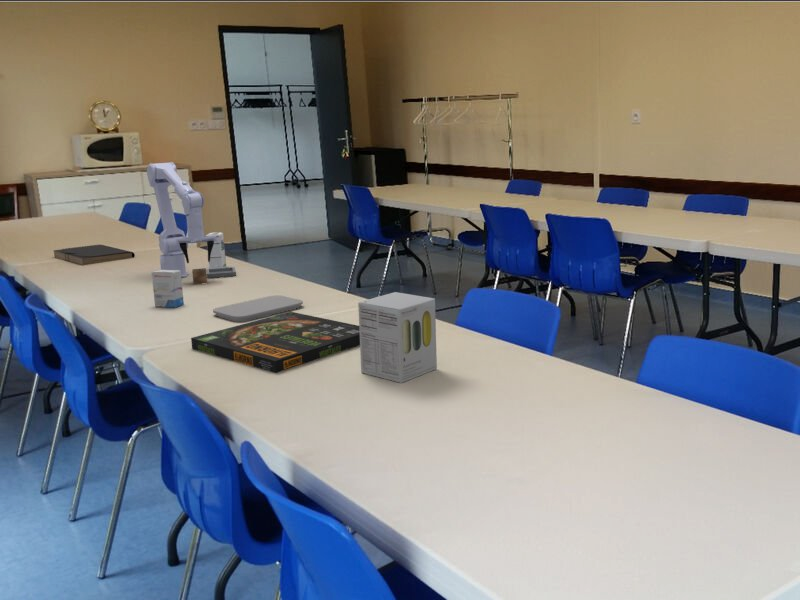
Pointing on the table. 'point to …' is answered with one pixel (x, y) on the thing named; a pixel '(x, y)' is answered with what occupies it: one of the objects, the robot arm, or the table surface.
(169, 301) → the ink box
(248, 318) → the tablet
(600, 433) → the table surface
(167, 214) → the robot arm
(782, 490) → the table surface
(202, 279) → the walnut cube
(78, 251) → the file folder
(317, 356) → the pizza box
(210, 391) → the table surface
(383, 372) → the supplement box
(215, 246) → the syrup box
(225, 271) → the grey dish
